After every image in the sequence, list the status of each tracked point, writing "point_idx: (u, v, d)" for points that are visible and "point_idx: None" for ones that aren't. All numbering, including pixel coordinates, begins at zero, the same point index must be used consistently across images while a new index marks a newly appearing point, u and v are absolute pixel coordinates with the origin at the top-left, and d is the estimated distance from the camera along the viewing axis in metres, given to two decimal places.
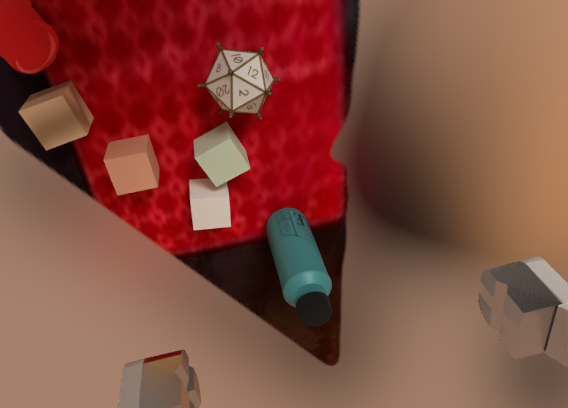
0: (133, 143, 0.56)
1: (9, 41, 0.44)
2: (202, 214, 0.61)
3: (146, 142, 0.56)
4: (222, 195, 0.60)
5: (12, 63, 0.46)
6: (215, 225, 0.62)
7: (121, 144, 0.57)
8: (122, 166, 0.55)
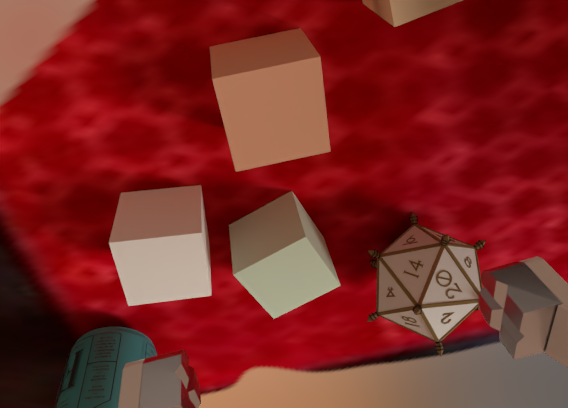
0: None
1: None
2: (158, 256, 0.26)
3: None
4: (209, 283, 0.28)
5: None
6: (129, 281, 0.27)
7: None
8: (299, 100, 0.22)
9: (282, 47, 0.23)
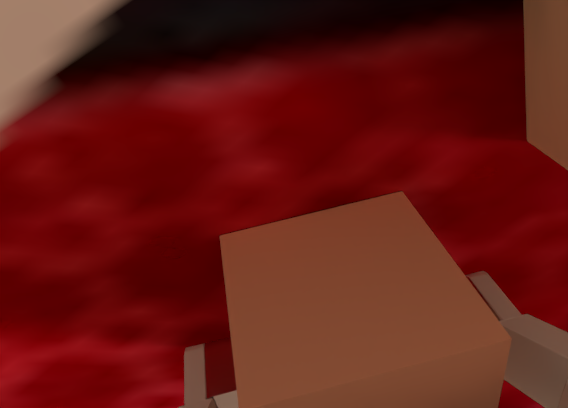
0: None
1: None
2: None
3: None
4: None
5: None
6: None
7: None
8: None
9: (390, 272, 0.10)
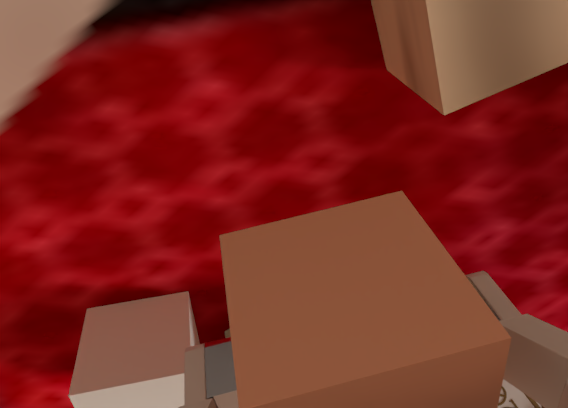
0: None
1: None
2: (135, 403, 0.20)
3: None
4: None
5: None
6: None
7: None
8: None
9: (390, 271, 0.10)
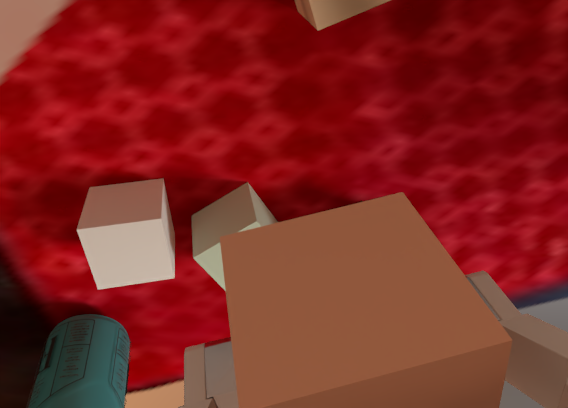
0: None
1: None
2: (122, 242, 0.29)
3: None
4: (172, 266, 0.31)
5: None
6: (98, 265, 0.29)
7: None
8: None
9: (390, 273, 0.10)
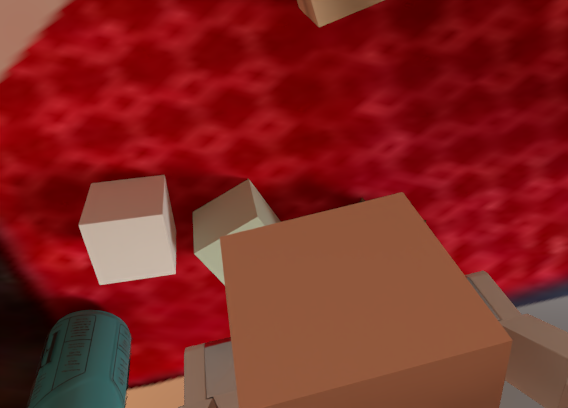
0: None
1: None
2: (124, 237, 0.29)
3: None
4: (173, 262, 0.31)
5: None
6: (99, 260, 0.29)
7: None
8: None
9: (391, 274, 0.10)
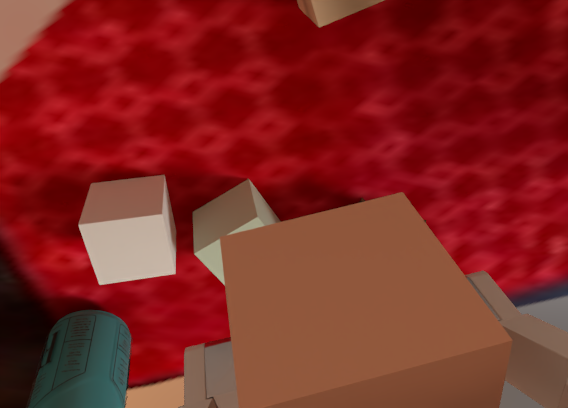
0: None
1: None
2: (124, 237, 0.29)
3: None
4: (173, 262, 0.31)
5: None
6: (99, 260, 0.29)
7: None
8: None
9: (391, 274, 0.10)
